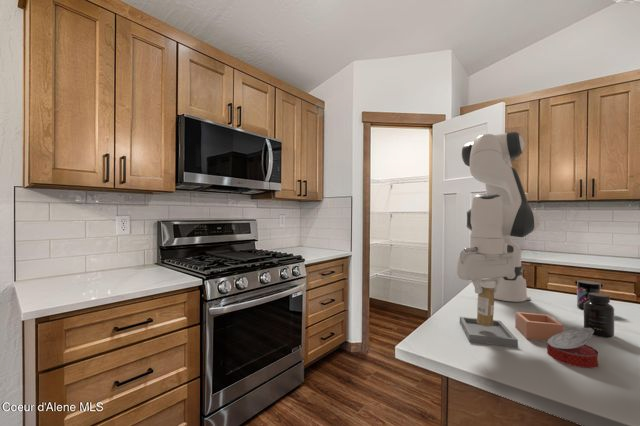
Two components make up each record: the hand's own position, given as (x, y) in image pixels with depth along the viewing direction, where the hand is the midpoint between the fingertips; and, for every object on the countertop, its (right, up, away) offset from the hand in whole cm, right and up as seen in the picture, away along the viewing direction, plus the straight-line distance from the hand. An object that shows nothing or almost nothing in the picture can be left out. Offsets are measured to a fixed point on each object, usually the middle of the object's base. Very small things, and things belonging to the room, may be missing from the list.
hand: (485, 292), depth 89 cm
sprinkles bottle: (0, -10, 0) cm, 10 cm away
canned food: (+13, -13, -15) cm, 24 cm away
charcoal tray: (0, -12, 0) cm, 12 cm away
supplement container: (+54, -13, +25) cm, 61 cm away
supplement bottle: (+35, -13, +1) cm, 38 cm away
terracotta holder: (+15, -13, 0) cm, 20 cm away
